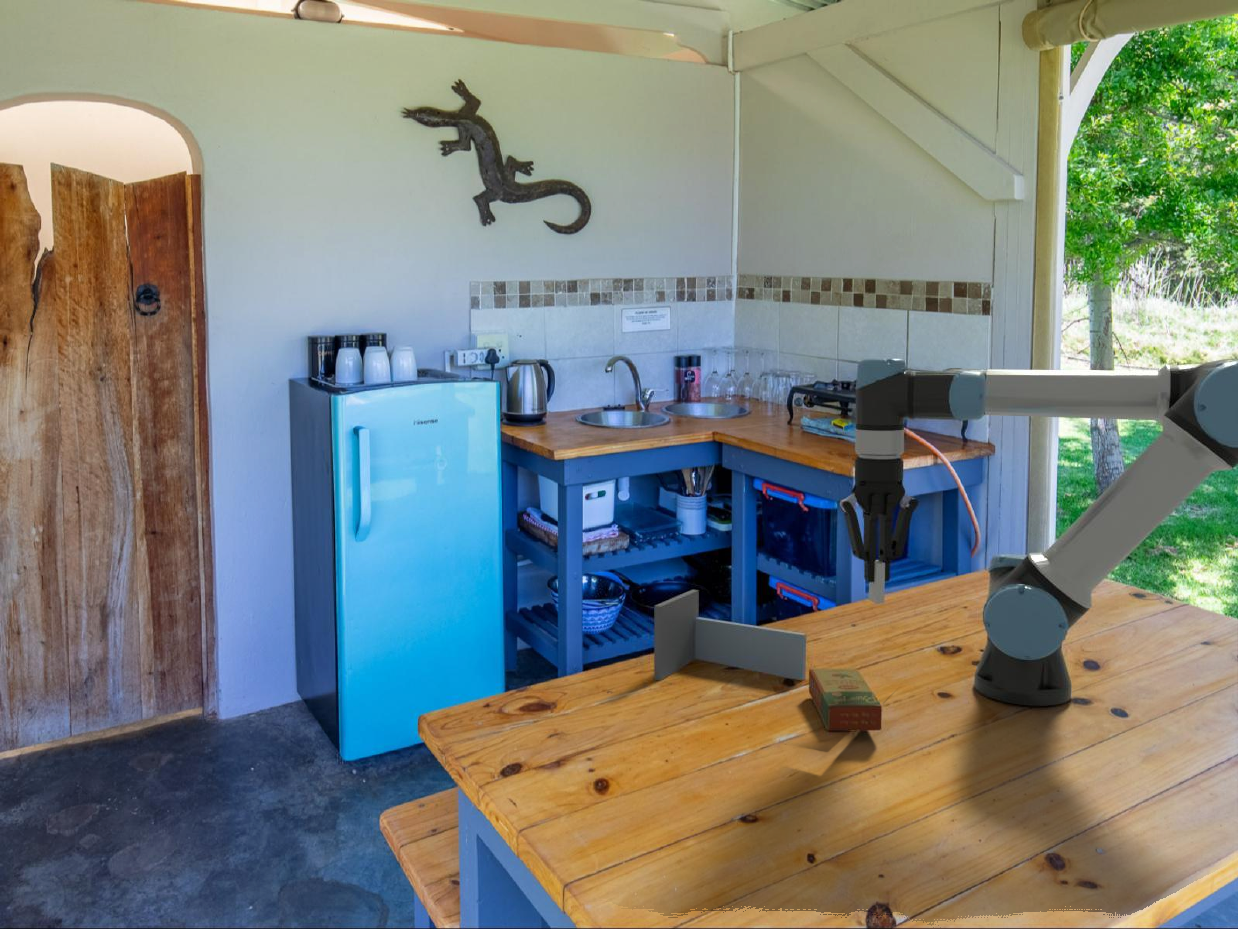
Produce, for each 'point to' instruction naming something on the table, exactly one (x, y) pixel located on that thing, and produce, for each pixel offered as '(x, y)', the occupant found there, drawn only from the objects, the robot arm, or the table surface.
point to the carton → (844, 700)
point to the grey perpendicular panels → (721, 642)
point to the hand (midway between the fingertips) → (876, 601)
